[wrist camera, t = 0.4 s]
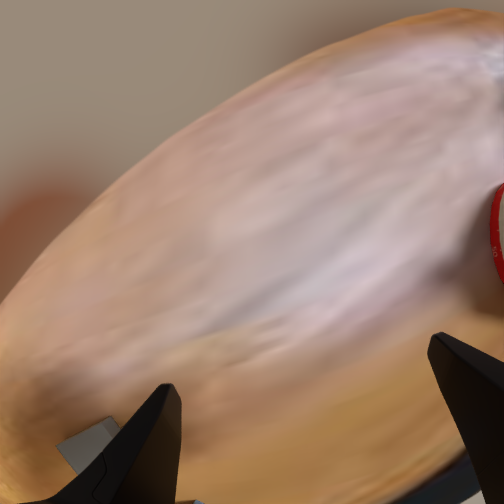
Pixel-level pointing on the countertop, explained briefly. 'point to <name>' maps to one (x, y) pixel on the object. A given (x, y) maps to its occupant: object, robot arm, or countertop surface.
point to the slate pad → (88, 444)
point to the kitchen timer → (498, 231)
